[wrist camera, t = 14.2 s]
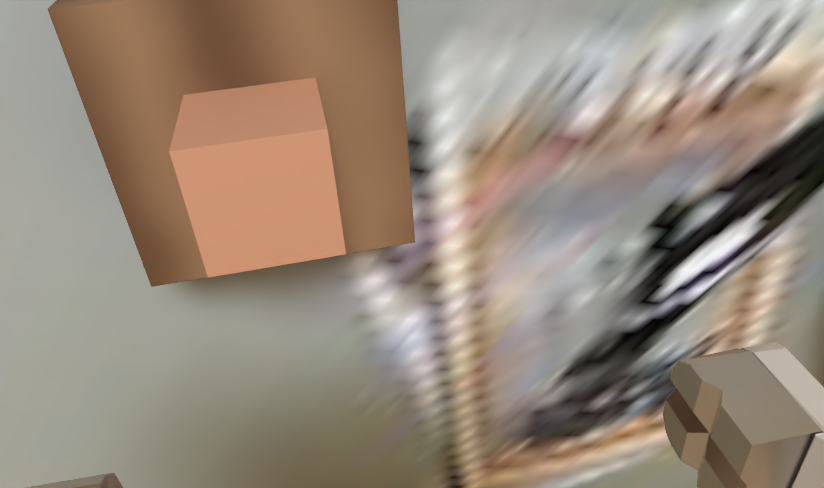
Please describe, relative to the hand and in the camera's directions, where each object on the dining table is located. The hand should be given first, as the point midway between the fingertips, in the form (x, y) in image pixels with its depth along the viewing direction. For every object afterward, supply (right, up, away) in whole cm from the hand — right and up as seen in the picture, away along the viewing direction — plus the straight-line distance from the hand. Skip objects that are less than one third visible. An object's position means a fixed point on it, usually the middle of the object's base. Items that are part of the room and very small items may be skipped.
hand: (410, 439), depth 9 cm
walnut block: (-7, +10, +21) cm, 25 cm away
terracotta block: (-6, +7, +17) cm, 19 cm away
